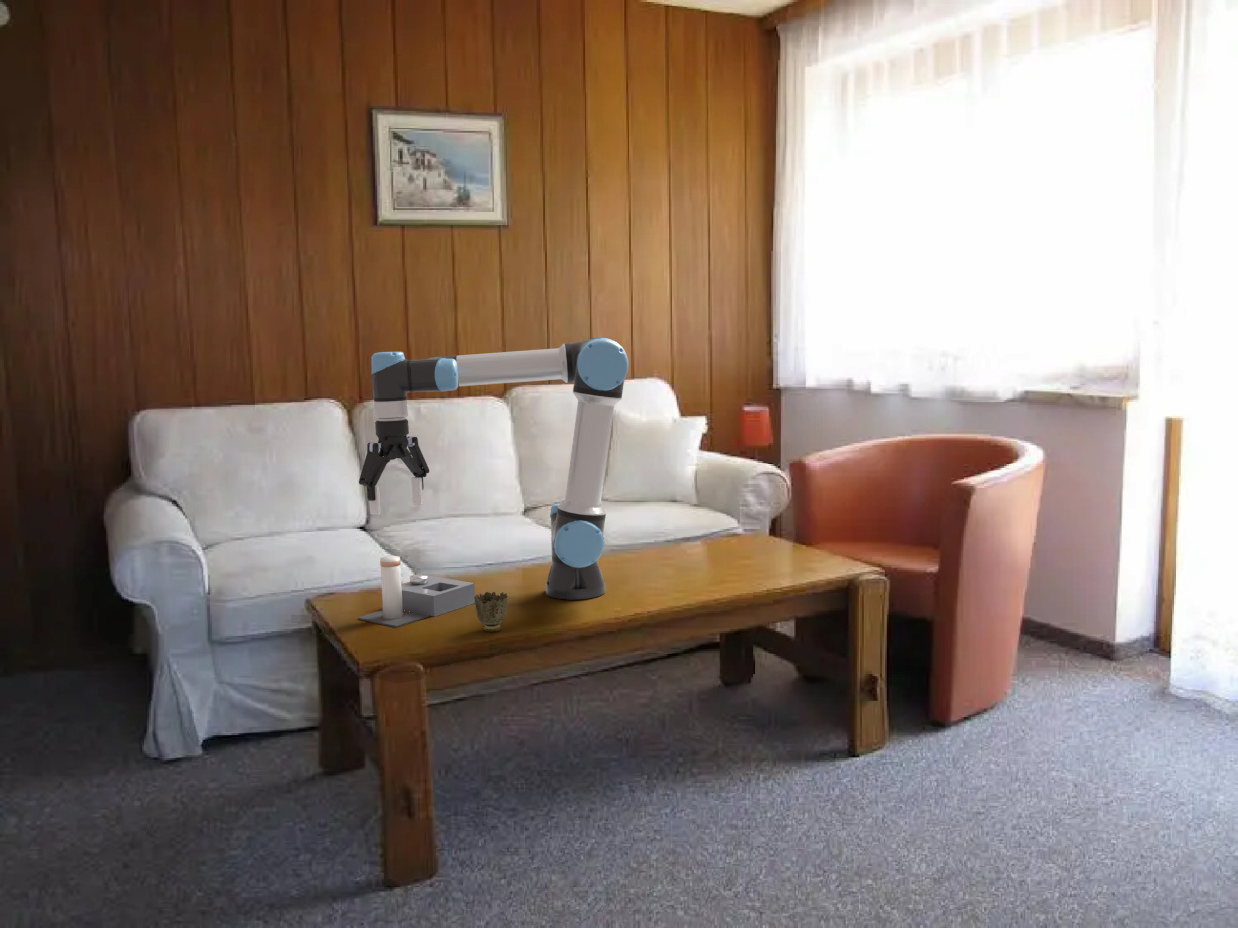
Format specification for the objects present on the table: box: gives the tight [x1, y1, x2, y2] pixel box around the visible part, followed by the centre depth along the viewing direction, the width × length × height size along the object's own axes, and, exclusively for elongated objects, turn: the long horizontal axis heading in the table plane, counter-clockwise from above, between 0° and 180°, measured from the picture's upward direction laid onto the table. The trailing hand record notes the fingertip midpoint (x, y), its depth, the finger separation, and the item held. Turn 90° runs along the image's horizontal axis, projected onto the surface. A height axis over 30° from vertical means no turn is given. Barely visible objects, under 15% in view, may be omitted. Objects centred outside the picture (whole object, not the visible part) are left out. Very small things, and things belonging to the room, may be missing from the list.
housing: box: [401, 575, 476, 618], centre depth 258 cm, size 15×14×5 cm
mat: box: [357, 609, 429, 629], centre depth 248 cm, size 13×10×1 cm
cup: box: [474, 591, 509, 633], centre depth 236 cm, size 8×7×8 cm
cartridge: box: [379, 555, 403, 619], centre depth 247 cm, size 5×5×14 cm
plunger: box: [409, 573, 429, 585], centre depth 260 cm, size 4×4×6 cm
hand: (397, 509), depth 247 cm, fingers open, 13 cm apart
